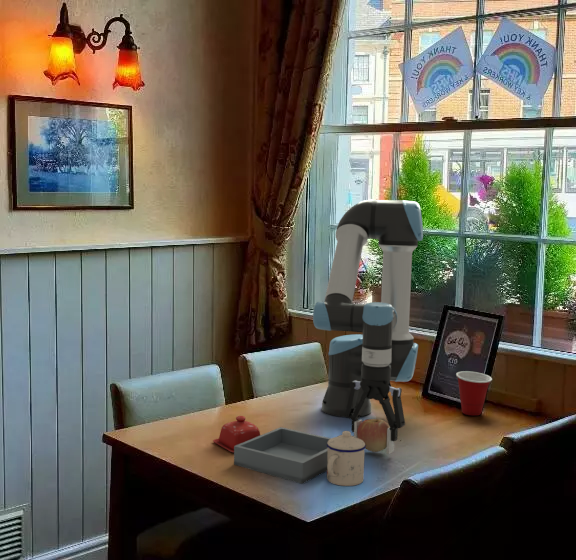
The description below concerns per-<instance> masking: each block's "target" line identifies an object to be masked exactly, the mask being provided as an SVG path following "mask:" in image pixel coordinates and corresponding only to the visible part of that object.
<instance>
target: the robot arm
mask: <svg viewBox="0 0 576 560" xmlns="http://www.w3.org/2000/svg"><path fill="white" fill-rule="evenodd" d="M423 228H424V226H423V218H422V210H421V206H420V203H418V202H417V201H412V200H404V199H403V200H399V199H397V200H395V199H393V200H390V199H387V200H385V199H380V200H379V199H367V200H366V199H365V200H362V201H359V202H358V203H355V204H354V205H353V206H351V207H350V208H349V209H348V210H346V212H345V213H344V214H343V215H342V217H341V218H340V220H339V221H338V224H337V226H336V230H335V239H336V241H337V242H336V245H335V246H336V247H335V250H334V256H333V259H332V266H331V268H330V274H329V278H328V284H327V288H326V292H325V297H324V301H323V300H322V301H317V302H316V303H315V304H314V306H313V313H312V321H313V326H314V327H315V328H316V329H317V330H322V331H328V332H329V331H330V332H331V331H336V332H337V331H338V332H354V333H356V334H346V335H340V336H336V337H334V338H332V339H331V340H330V341H329V348H328V350H329V351H328V376H327V377H328V380H327V381H328V383H327V387H326V391H325V393H324V396H323V398H322V402H321V411H322V412H323V413H325V414H327V415H330V416H335V417H342V418H349V419H350V421H351V433H353V436H354V437H356V438H358V436H357V430H358V427H359V425H360V424H361V423H362V422H363V419H361V417H365V416H367V415H370V413H371V412H372V403H371V400H375V401H378V402H379V404H380V405H381V407H382V411H383V413H384V416H385V418H386V420H387V423H388V425H389V426H390V428H388V429H387V447H386V454H387V455H389V454H392V453H394V452H395V441H397V440H398V432H399V431H398V430H399V429H401V428H403V427H404V426H406V420H405V416H404V409H403V402H402V397H401V396H402V393H403V392H402V388H401V387H397V388H396V387H393V386H392V384H391V382H396V383H397V382H409V381H411V380H412V378H413V376H414V373H415V369H416V363H417V357H418V350H419V344H418V343H416V342H414V339H415V338H414V336H413V334H411V333H410V309H411V287H412V263H413V261H412V260H413V252H414V250H415V249H416V248H417V247H418V243H419V242H420V241H421V242H422V241H423V238H424V229H423ZM368 239H374V240H378V241H377V242H378V247H379V248H380V249H381V251H382V270H381V271H382V275H381V295H380V296H381V299H380V300H381V301H380V302H379V301H378V302H377V301H376V302H375V301H374V302H373V301H372V302H367V303H361V304H360V303H353V300H354V296H355V289H356V286H357V278H358V273H359V269H360V263H361V258H362V253H363V247H364V246H365V245H366V244H367V242H368ZM357 333H358V334H357ZM359 333H361V334H359ZM389 393H390V395H389ZM390 396H391V398H390ZM391 399H392V404H391V401H390V400H391ZM392 406H393V407H392Z"/></svg>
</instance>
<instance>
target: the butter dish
mask: <svg viewBox="0 0 576 560" xmlns="http://www.w3.org/2000/svg"><path fill="white" fill-rule="evenodd" d="M260 432H261V431H260V429H259V428H258V426H257V425H255V424H254V423H252V422H250V421H247V420H246V417H245V416H244V415H238V416H236V417H235V420H234V421H233V420H232V421H230V422H229V421H228V422H227V423H225V424H223V425H222V426H221V429H220V432H219V437H218V438H215V439H213V440H212V442H213V443H215V444H216V445H218V446H220V447H221V448H223V449H225V450H227V451H229V453H233V454H234V446H236V445H238V444H241V443H243V442H246V441H248V440H251V439H253V438H255V437H258V436H260V435H261V433H260Z"/></svg>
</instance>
